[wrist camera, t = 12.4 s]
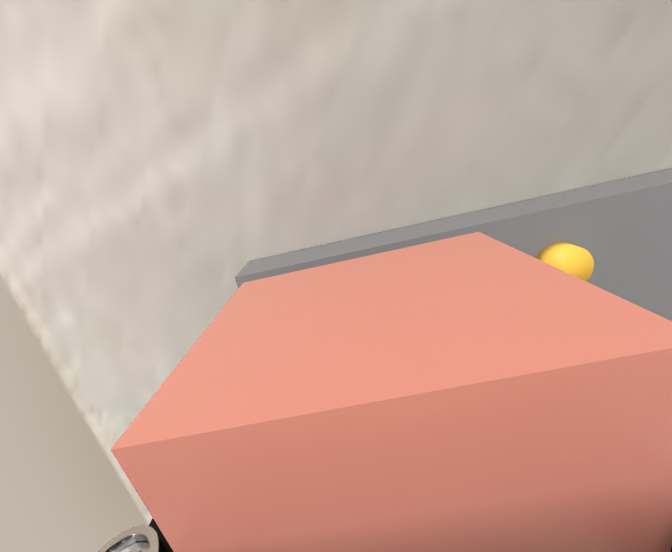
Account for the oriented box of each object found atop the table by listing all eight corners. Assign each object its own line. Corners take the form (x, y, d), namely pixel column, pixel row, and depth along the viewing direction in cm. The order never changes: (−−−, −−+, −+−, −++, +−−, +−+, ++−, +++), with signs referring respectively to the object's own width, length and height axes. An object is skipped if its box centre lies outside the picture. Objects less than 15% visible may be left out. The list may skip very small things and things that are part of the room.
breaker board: (688, 164, 12) (782, 164, 9) (645, 473, 17) (697, 526, 14) (249, 260, 13) (229, 283, 10) (335, 519, 18) (335, 575, 16)
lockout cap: (478, 231, 9) (712, 340, 3) (492, 421, 11) (646, 672, 6) (242, 282, 10) (110, 449, 4) (302, 454, 12) (272, 712, 6)
